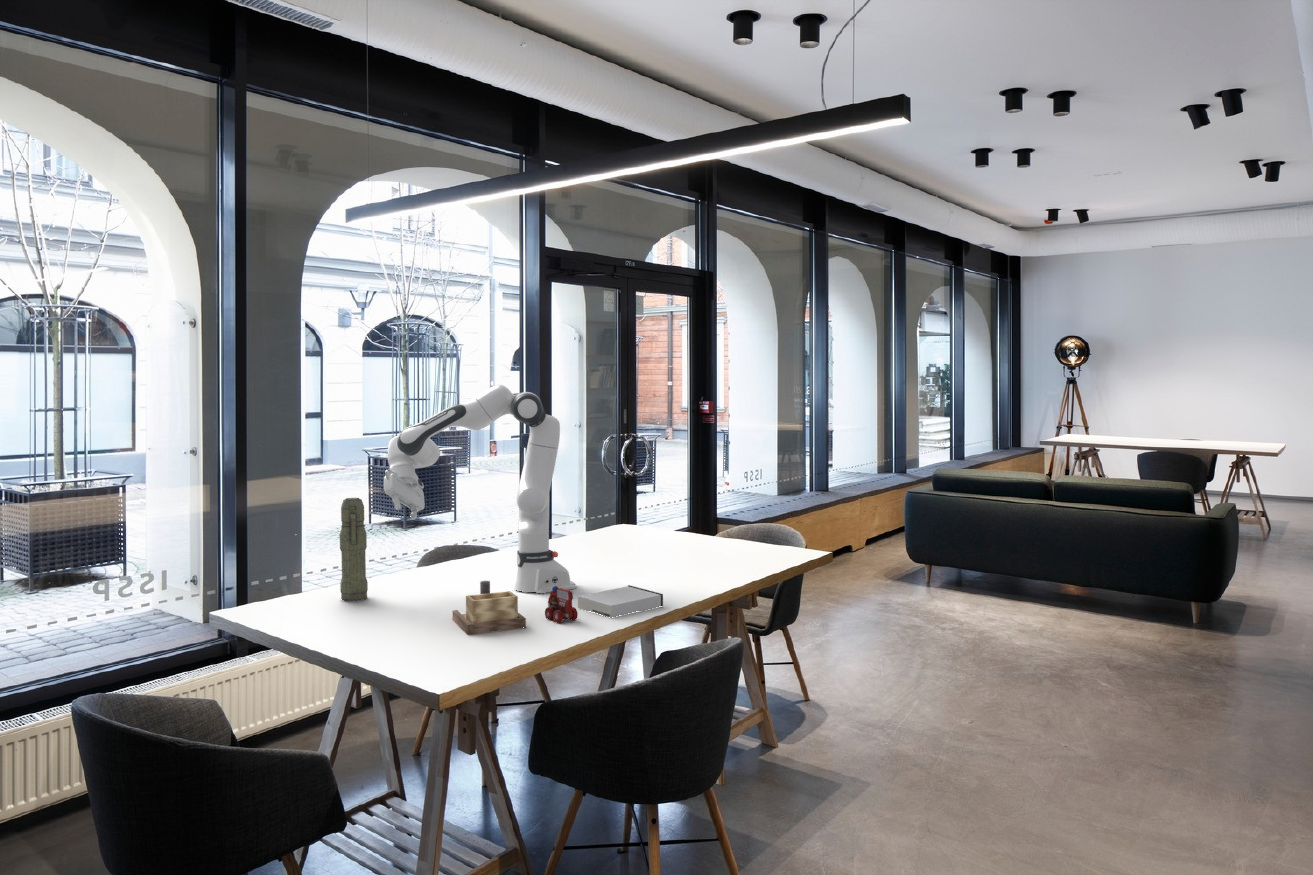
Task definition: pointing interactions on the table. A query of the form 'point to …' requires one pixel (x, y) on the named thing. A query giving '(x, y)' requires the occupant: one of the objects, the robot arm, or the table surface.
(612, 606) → the disc drive
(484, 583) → the crate
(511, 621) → the tray
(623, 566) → the table surface
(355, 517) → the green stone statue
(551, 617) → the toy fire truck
